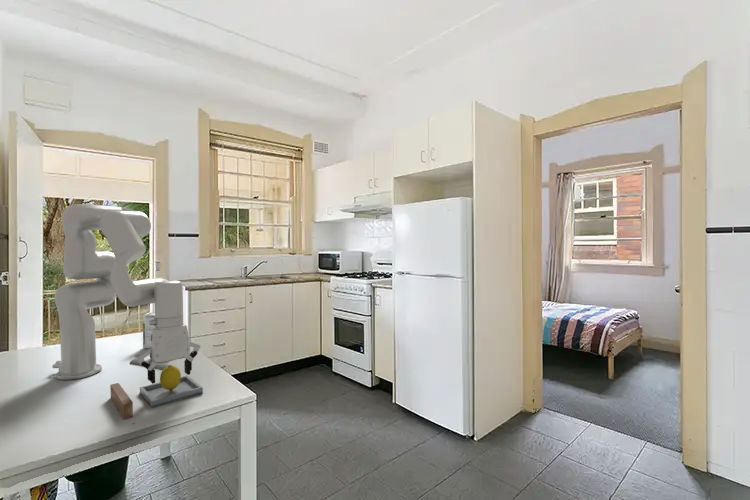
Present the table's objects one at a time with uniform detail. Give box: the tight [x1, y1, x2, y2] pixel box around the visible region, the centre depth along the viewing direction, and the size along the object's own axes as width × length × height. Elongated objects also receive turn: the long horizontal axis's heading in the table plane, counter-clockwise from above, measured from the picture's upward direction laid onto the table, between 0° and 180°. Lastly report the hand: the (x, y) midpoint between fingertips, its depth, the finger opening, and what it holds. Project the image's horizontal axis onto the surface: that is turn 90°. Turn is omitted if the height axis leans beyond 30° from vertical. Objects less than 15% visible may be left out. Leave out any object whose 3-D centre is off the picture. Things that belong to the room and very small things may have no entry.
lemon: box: [159, 364, 182, 391], centre depth 113 cm, size 6×6×8 cm
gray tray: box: [139, 375, 204, 409], centre depth 113 cm, size 14×14×2 cm
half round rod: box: [129, 358, 174, 371], centre depth 137 cm, size 4×20×2 cm, turn 68°
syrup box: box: [142, 311, 155, 349], centre depth 161 cm, size 6×6×14 cm
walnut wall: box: [110, 382, 134, 420], centre depth 104 cm, size 2×18×4 cm, turn 44°
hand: (170, 377), depth 113 cm, fingers open, 9 cm apart
